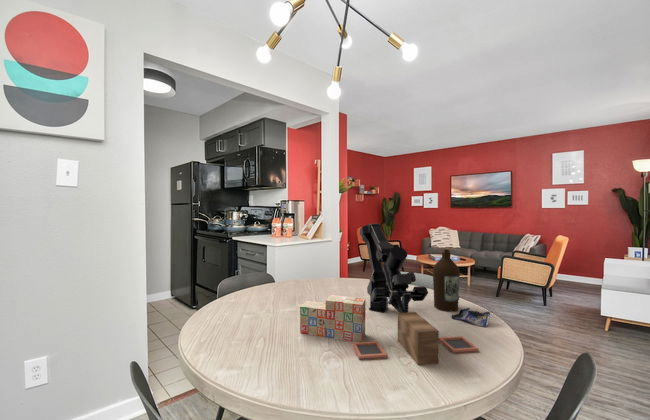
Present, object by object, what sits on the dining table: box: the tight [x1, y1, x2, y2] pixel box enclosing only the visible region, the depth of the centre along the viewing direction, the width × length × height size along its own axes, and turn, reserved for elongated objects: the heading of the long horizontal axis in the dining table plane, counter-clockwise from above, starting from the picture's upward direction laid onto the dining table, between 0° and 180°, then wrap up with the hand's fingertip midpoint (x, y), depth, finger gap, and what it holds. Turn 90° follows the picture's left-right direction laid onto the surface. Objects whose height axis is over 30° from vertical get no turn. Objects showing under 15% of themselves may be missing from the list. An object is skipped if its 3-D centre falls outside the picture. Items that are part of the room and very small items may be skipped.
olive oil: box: [432, 248, 461, 312], centre depth 120 cm, size 11×11×25 cm
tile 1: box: [352, 340, 388, 361], centre depth 82 cm, size 8×8×1 cm
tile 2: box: [439, 335, 480, 355], centre depth 86 cm, size 8×8×1 cm
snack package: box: [451, 307, 491, 328], centre depth 106 cm, size 12×6×12 cm
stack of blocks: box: [299, 294, 367, 343], centre depth 94 cm, size 21×6×12 cm, turn 72°
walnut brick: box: [397, 311, 440, 366], centre depth 83 cm, size 14×6×9 cm, turn 7°
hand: (406, 318), depth 90 cm, fingers closed, pressing on walnut brick
